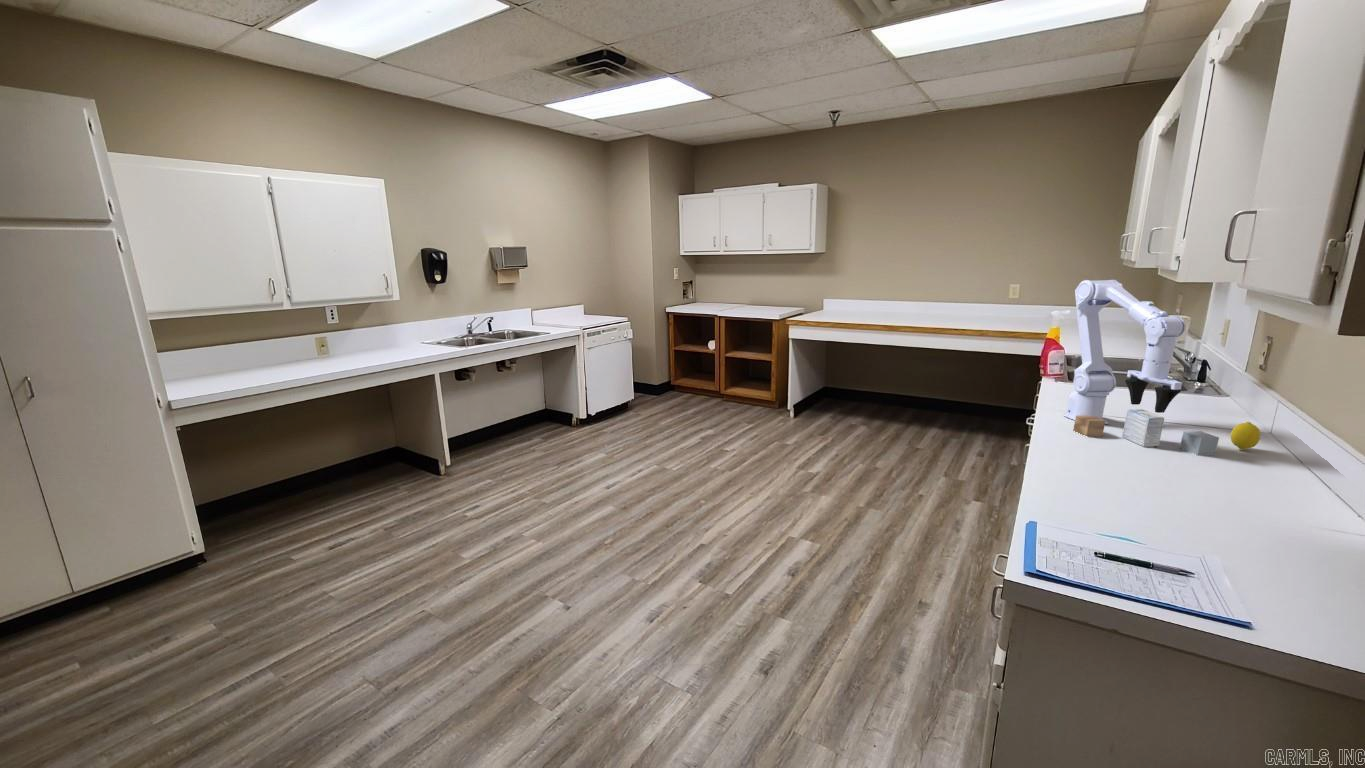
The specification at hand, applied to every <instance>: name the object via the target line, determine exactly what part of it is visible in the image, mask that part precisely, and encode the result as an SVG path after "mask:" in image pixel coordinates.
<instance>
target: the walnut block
mask: <svg viewBox="0 0 1365 768" xmlns="http://www.w3.org/2000/svg"><path fill="white" fill-rule="evenodd" d="M1105 421H1106V420H1105V419H1103V418H1102V419H1101V418H1098V417H1096V416H1093V415H1077V416H1076V418H1075V420H1074V424H1073V430H1072V431H1073V432H1074V431H1075V432H1074V433H1076V432H1078V433H1077V434H1079V433H1080V434H1079V435H1081V434H1082V435H1081V436H1083V435H1085V436H1097V437H1103V436H1104V435H1103V434H1104V431H1105V429H1104V428H1105V425H1106V424H1105ZM1085 436H1084V437H1085Z"/></svg>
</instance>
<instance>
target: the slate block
mask: <svg viewBox="0 0 1365 768" xmlns="http://www.w3.org/2000/svg"><path fill="white" fill-rule="evenodd" d="M1219 440H1220V437H1219V436H1216V435H1213V434H1210V433H1208V432H1204V431H1202V430H1200V431H1199V430H1198V431H1197V430H1195V431H1193V430H1192V431H1183V433H1182V436H1181V441H1180V443H1179V444H1180V445H1179V449H1180V448H1181V449H1180V450H1182V449H1184V450H1186V451H1185V452H1187V451H1189V452H1188V453H1190V452H1191V453H1190V454H1192V453H1194V454H1193V455H1195V454H1196V455H1195V456H1215V455H1216V451H1217V448H1218V444H1219ZM1184 450H1183V451H1184Z"/></svg>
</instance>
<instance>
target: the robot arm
mask: <svg viewBox="0 0 1365 768" xmlns="http://www.w3.org/2000/svg"><path fill="white" fill-rule="evenodd" d="M1074 295H1075V296H1074V297H1075V305H1076V318H1077V319H1076V320H1077V326H1078V336H1079V337H1078V338H1079V345H1080V355H1081V356H1080V357H1081V362H1082V363H1081V365H1079V366H1078V367H1077V368H1076V369H1074V371H1073V372H1074V377H1073V381H1072V382H1073V383H1072V384H1073V387H1074V390H1073V391H1072V392H1071V393H1070V395H1069V396H1068V401H1067V407H1066V411H1065V413H1064V414H1062V416H1063V417H1065V418H1068V419H1070V420H1073V421H1075V418H1076V416H1077V415H1093V416H1096V417H1098V418H1101V419H1103V417H1104V411H1105V405H1106V401H1107V396H1110V393H1112V392H1113V391H1114V390H1115V389H1116V386H1117V379H1116V377H1115V375H1114V373H1113V368H1112V367H1111V366H1110V365H1109V364H1107V363H1106V362H1105V360H1104V359H1105V358H1104V353H1103V352H1104V351H1103V344H1102V343H1103V342H1102V334H1101V325H1100V324H1101V323H1100V316H1099V313H1100V311H1101V310H1102V309H1105V308H1106V307H1107V306H1109V305H1110V304H1111V303H1112V302H1113V303H1115V304H1116V305H1118V306H1119V307H1121V308H1123V309H1125V310H1126V311H1128V317H1129V319H1132V320H1133V322H1135V323H1137V324H1138V325H1140V326H1141V327H1143V329H1144V334H1145V336H1146V337H1145V342H1146V348H1145V352H1144V357H1143V362H1142V366H1141V370H1140V371H1139V370H1135V369H1133V370H1132V369H1130V370H1129V369H1128V370H1127V375H1126V377H1127V378H1125V384H1126V386H1127V388H1128V392H1129V398H1130V404H1131V405H1132V406H1133V405H1140V404H1141V403H1142V399H1143V396H1144V392H1145V390H1146V388H1147V386H1148V384H1149V383H1150V384H1154V385H1157V386H1155V387H1154V392H1155V396H1156V399H1155V405H1154V406H1155V407H1154V412H1155V413H1157V414H1161V413H1162V414H1163V413H1165V412H1166V409H1167V408H1168V407H1169V404H1171V402H1172V400H1174V398H1176V397H1177V395H1178V394H1180V393H1181V392H1182V385H1183V382H1182V381H1181V382H1180V381H1178V380H1175V379H1173V378H1172V377H1169V373H1170V370H1171V369H1170V368H1171V364H1172V361H1173V355H1174V351H1175V347H1176V342H1177V338H1179V337H1181V336H1182V335H1183V334H1184V332H1185V331H1186V323H1185V321H1184V319H1182V318H1181V317H1180V316H1179V315H1170V314H1169V315H1168V313H1167V311H1165V310H1161V309H1160V308H1159V307H1157V306H1155V303H1154V302H1153V301H1152V300H1151V301H1148V300H1147V301H1146V300H1143V301H1140V300H1139V299H1138V298H1136V297H1135V296H1134V295H1132V293H1130V292H1129V291H1127V290H1126V289H1125V288H1124V286H1123V284H1122V283H1120V282H1119V281H1117V279H1108V280H1106V279H1105V280H1103V279H1102V280H1089V279H1084V280H1082V281H1080V283H1079V284H1078V285H1077V287H1076V288H1075V290H1074ZM1109 424H1110V422H1108V421H1106V420H1105V425H1109Z"/></svg>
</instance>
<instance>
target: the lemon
mask: <svg viewBox="0 0 1365 768" xmlns="http://www.w3.org/2000/svg"><path fill="white" fill-rule="evenodd" d="M1260 440H1261V431H1260V429H1259V428H1258V427H1257V426H1256V425H1255V424H1253V423H1251V422H1250V421H1247V422H1243V423H1239V424H1237V425H1235V426H1234V427H1233V429H1232V430H1231V432H1230V441H1231V443H1232V444H1233V445H1234V446H1235V447H1237V448H1238V449H1239V450H1240V451H1244V450H1247V449H1252V448H1254V447H1255V446H1257V445H1258V444H1259V442H1260Z"/></svg>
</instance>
